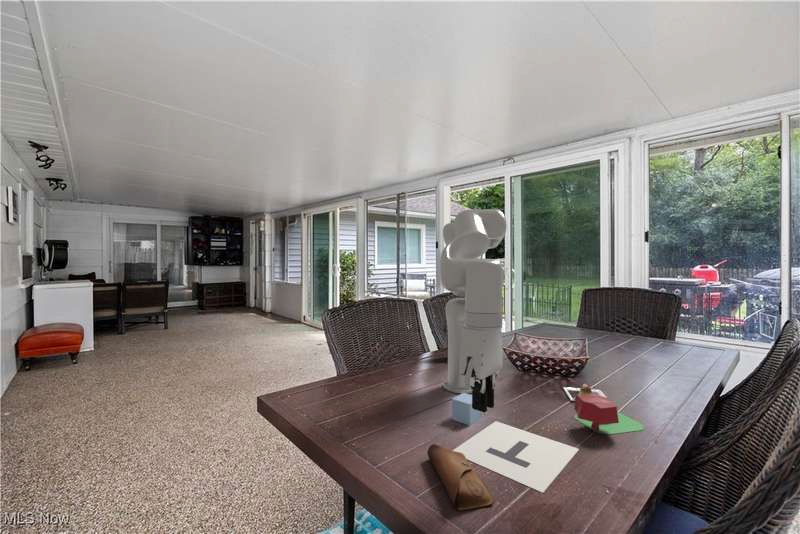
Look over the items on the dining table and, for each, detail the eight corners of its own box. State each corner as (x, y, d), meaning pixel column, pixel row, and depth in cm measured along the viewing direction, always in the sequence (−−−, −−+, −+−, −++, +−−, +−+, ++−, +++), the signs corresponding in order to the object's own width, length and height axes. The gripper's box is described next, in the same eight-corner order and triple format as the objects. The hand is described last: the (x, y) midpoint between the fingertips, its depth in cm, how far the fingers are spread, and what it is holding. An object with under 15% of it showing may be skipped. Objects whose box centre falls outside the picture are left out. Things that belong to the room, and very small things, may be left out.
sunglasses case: (497, 501, 68) (480, 474, 67) (467, 526, 67) (449, 498, 66) (461, 451, 86) (447, 429, 85) (437, 470, 85) (422, 448, 84)
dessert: (612, 406, 114) (612, 391, 114) (570, 403, 117) (570, 388, 117) (600, 392, 126) (600, 379, 126) (562, 390, 128) (562, 376, 128)
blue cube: (463, 412, 109) (463, 392, 109) (481, 418, 105) (481, 398, 105) (452, 419, 105) (452, 398, 104) (470, 425, 101) (470, 404, 100)
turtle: (554, 416, 106) (555, 386, 106) (612, 410, 111) (613, 380, 110) (592, 442, 91) (593, 406, 91) (658, 433, 96) (658, 399, 96)
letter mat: (495, 421, 103) (495, 421, 103) (579, 449, 88) (579, 448, 88) (450, 452, 87) (450, 451, 87) (543, 493, 72) (543, 492, 72)
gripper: (486, 313, 84) (486, 393, 84) (445, 323, 72) (445, 415, 73) (517, 317, 79) (517, 401, 79) (479, 328, 67) (478, 427, 68)
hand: (483, 407), depth 76 cm, fingers closed
